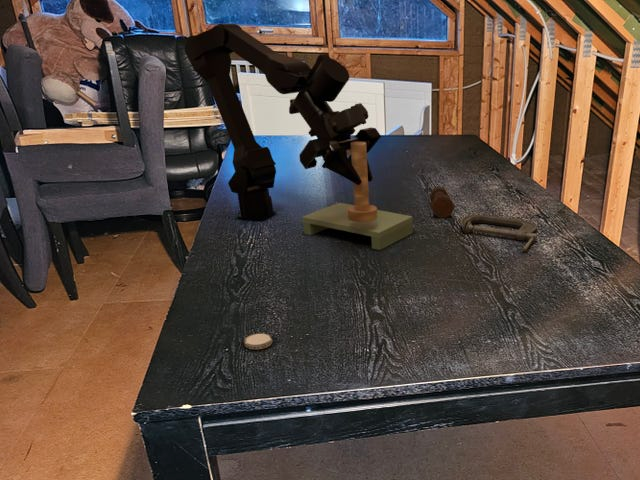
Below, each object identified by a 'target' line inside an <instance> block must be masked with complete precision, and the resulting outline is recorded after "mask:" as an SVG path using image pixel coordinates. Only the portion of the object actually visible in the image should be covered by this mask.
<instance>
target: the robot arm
mask: <svg viewBox="0 0 640 480" xmlns="http://www.w3.org/2000/svg"><path fill="white" fill-rule="evenodd" d="M184 53H185V56H186V58H187V59H188V61H189V63H190V65H191V68H192V69H193V70H194V72H195V73H196V74H197V75H198V76H199V77H201V79H203V80H204V81H205V82H206V83H207V86H208V88H209V90H210V92H211V95H212V98H213V100H214V102H215V105H216V108H217V109H218V112H219V115H220V117H221V120H222V122H223V124H224V127H225V130H226V131H227V134H228V137H229V139H230V142H231V144H232V146H233V156H232V165H233V170H234V173H233V174H232V176H231V178H230V179H229V181H228V183H227V184H228V186H229V190H230V192H231V193H233V194H237V199H238V206H239V211H240V212H239V213H240V214H238V215H236V218H237V219H239V220H248V221H249V220H250V221H260V222H261V221H265V220H266V219H268V218H270V217H271V216H273V215H275V213H276V211H275V210H274V208H273V200H272V195H270V190H269V189H273V188H274V187H275V180H276V175H277V169H276V168H277V167H276V164H277V163H276V161H274V158H273V155H272V152H271V150H270V147H268V146H263V147H262V146H261V145H260V144H259V143H258V142H257V140H256V138H255V136H254V133H253V130H252V128H251V125H250V123H249V120H248V117H247V115H246V112H245V109H244V108H243V106H242V102H241V100H240V98H239V95H238V93H237V90H236V88H235V86H234V82H233V80H232V78H231V69H232V58H231V55H232V54H233V53H234V54H235V55H237V56H238V57H240V58H241V59H243V60H244V61H246V62H247V63H249V64H250V65H251V66H253V67H255V68H256V69H258V70H259V71H260V72H262V73H263V74H264V76H265V79H266V81H267V83H268V84H269V85H270V86H271V87H272V88H273V89H274V90H275V91H276V92H278V93H279V94H281V95H291V94H296V93H297V95H296V96H295V98H291V99H290V100H289V107H288V112H289V115H295V114H299V115H300V116H301V117H302V119H303V120H304V121H305V123H306V124H307V126H308V127H309V128H310V129H309V131H308V132H307V133H308V135H309V136H310V137H311V138H312V137H316V138H313V139H310V140H308V142H307V143H306V145H304V148H303V149H302V150H301V152H300V153H299V154H298V155H299V162H300V164H301V165H302V166H303V168H304V169H305V170H309V169H313V168H316V166H317V165H318V160H317V159H316V158H320V157H322V160H323V163H322V165H321V168H322V169H327V170H329V171H331V172H333V173H336V174H337V175H339V176H341V177H343V178H344V179H347V180H349V181H350V182H352V184H353V183H355V184H357V185H360V184H361V183H362V181H361V179H360V177H359V175H358V173H357V172H356V170H355V169H354V167H353V166H352V158H351V142H356V141H361V142H366V151H367V154H368V153H370V151H371V150H372V149H373V148H374V146H375V145H376V144H377V143H378V141H380V139H381V137H382V135H381V134H380V132H379V131H378V129H377V127H366V128H361V129H359V130H358V132H357V133H356V129H355V128H357V127H359V126H361V125H365V124H367V120H368V119H369V111H368V110H367V108H366V107H365V106H364V105H363V103H360V102H359V103H355V104H354V105H351V106H350V107H349V108H346V109H342V110H341V111H339V110H335V111H334V110H333V108H332V107H331V105H330V104H329V103H333V102H334V101H335V100H336V99H337V97H338V96H339V94H340V93H341V92H342V90H343V89H344V87H345V86H346V84H347V83H348V82H349V80H350V73H349V70H348V69H347V67H346V66H345V65H343V64H342V63H340V62H339V61H338V60H336V59H334V58H331V56H329V55H330V54H328V53H320V54H318V56H317V58H316V60H315V63H314V64H313V66H312V67H310V66H309V64H308V63H307V62H305V61H303V60H300V59H298V58H297V57H293V56H289V55H285V54H281V53H278V52H277V51H275V50H274V49H272V48H270V47H269V46H268V45H266V44H265V43H263V42H262V41H260V40H259V39H257V38H256V37H254V36H253V35H251V34H250V33H248V32H247V31H245V30H244V29H243V28H242V27H241V25H239V24H236V23H232V22H231V23H218V24H216V25H214V26H213V27H211V28H210V29H207V30H205V31H202V32H200V33H197V34H196V35H193V34H192V35H190V36H187V39H186V41H185V43H184ZM328 102H329V103H328ZM355 133H356V134H355ZM354 134H355V136H354V137H352V135H354ZM367 169H368V183H370V182H372V181H373V179H374V177H373V174H372V170H371V168H370V163H369V160H368V159H367Z"/></svg>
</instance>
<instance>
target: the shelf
mask: <svg viewBox="0 0 640 480" xmlns="http://www.w3.org/2000/svg"><path fill="white" fill-rule="evenodd" d="M352 205H353V204H350V203H343V202H337V203H335V204H332V205H329V206H326V207H325V208H321V209H319V210H317V211H314V212H311V213H309V214H307V215H304V216H302V217H301V219H302V228H303V234H304V235H307V236H313V235H316V234H318V233H320V232H322V231H325V230H328V229H333V230H339V231H342V232H348V233H352V234H358V235H363V236H367V237H370V241H371V249H373V250H376V251H377V250H378V251H381V250H383V249H385V248H387V247H389V246H391V245H393V244H394V243H396V242H398V241H400V240H403V239H404V238H406V237H409V236H411V235H412V234H413V233H414V221H413V220H414V219H413V217H414V216H412V215H407V214H402V213H396V212H391V211H386V210H381V209H377V219H376V220H373V221H369V222H355V221H351V220H349V219H348V211H347V208H348V207H349V206H352Z"/></svg>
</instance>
